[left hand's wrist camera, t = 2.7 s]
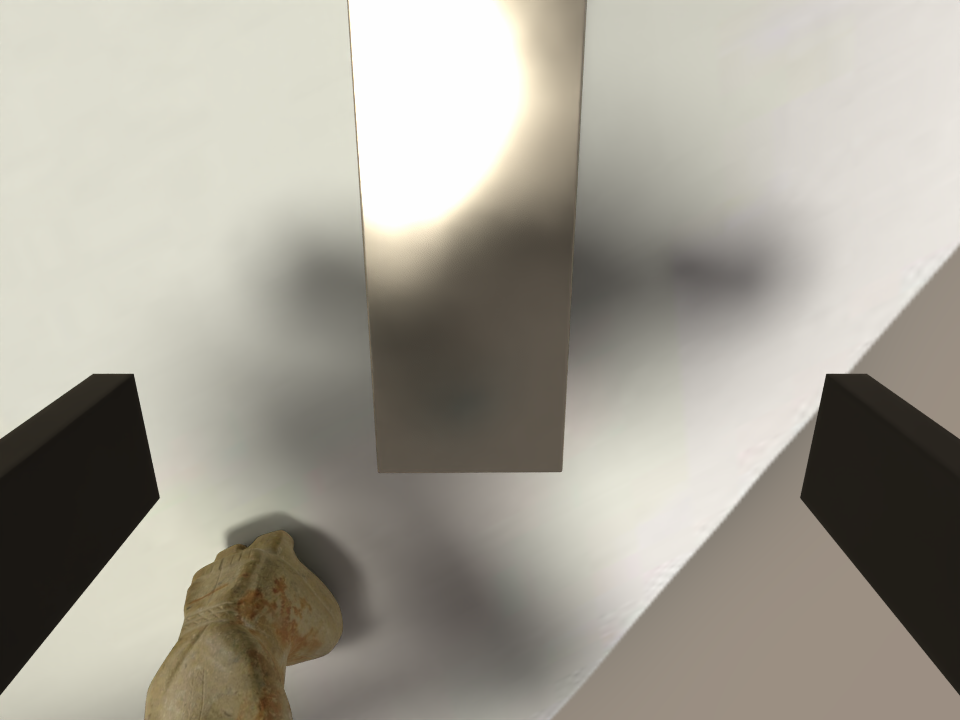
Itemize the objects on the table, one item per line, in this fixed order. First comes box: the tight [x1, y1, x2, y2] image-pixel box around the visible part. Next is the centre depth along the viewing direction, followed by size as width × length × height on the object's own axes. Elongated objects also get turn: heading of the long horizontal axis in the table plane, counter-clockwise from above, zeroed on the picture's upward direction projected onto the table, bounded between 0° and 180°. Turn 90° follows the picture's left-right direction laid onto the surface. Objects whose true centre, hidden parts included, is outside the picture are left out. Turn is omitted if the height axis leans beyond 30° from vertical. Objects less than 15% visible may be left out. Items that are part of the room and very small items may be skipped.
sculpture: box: [144, 530, 343, 720], centre depth 25 cm, size 6×7×15 cm
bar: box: [347, 0, 587, 473], centre depth 20 cm, size 25×6×9 cm, turn 0°
